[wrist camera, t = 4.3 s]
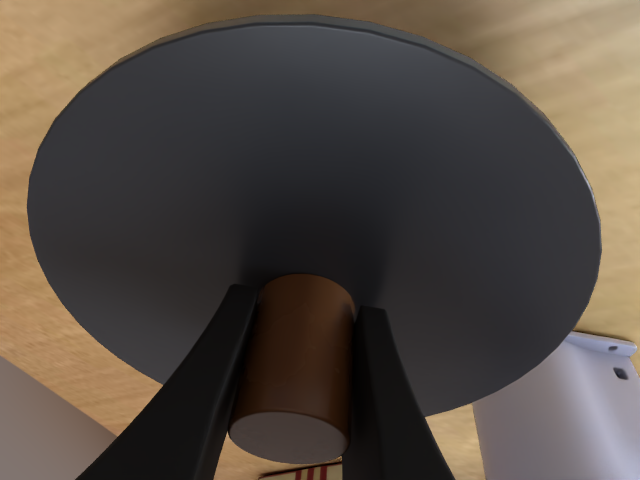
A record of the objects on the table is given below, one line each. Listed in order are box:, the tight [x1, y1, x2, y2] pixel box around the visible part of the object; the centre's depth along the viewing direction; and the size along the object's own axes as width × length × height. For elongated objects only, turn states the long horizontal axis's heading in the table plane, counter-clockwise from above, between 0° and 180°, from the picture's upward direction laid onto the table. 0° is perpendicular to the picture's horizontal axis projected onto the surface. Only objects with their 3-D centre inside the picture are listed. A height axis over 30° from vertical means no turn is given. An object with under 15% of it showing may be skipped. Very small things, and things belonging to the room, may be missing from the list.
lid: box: [27, 14, 602, 464], centre depth 11 cm, size 14×14×5 cm
